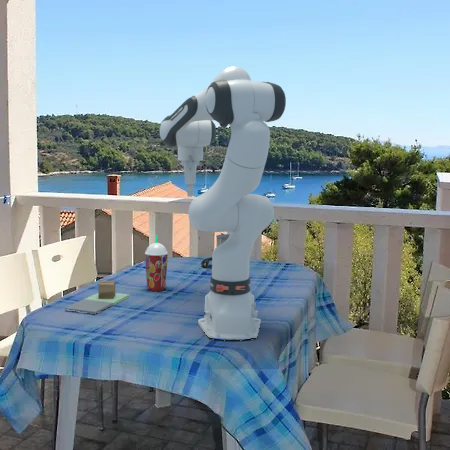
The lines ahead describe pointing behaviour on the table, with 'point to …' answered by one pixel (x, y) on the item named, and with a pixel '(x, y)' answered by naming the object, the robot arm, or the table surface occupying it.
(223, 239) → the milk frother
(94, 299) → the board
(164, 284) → the smoothie
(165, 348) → the table surface
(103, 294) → the walnut block
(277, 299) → the table surface
